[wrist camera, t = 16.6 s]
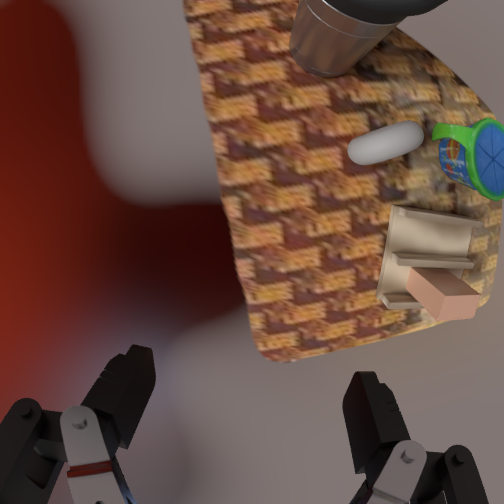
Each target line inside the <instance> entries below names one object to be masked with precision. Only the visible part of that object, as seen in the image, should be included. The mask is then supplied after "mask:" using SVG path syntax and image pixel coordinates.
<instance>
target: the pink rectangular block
mask: <svg viewBox="0 0 504 504" xmlns="http://www.w3.org/2000/svg"><path fill="white" fill-rule="evenodd" d="M406 290H407V291H408V292H409V293H410V294H411V295H412V296H413V297H414V298H415V299H416V300H417V301H418V302H419V303H420V304H421V305H422V306H423V307H424V308H425V309H426V310H427V311H428V312H429V313H430V314H431V315H432V316H433V317H434V318H435V319H436V320H437V321H446V320H458V319H468V318H473V317H474V314H475V311H476V308H477V305H478V302H479V299H480V296H481V294H479V293H478V292H477V291H475V290H474V289H473V288H471V287H470V286H469V285H467V284H466V283H465V282H463V281H462V280H460V279H459V278H458V277H456V276H455V275H453V274H452V273H451V272H449V271H448V270H446V269H445V268H420V267H411V268H410V272H409V277H408V281H407V285H406Z"/></svg>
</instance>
